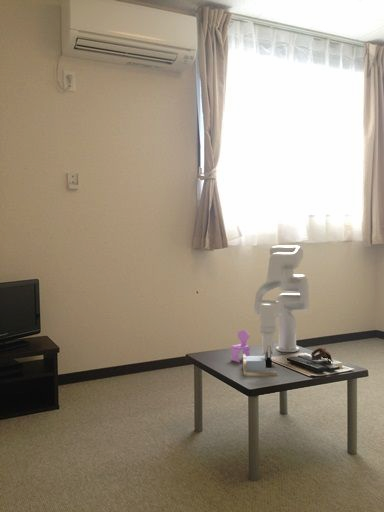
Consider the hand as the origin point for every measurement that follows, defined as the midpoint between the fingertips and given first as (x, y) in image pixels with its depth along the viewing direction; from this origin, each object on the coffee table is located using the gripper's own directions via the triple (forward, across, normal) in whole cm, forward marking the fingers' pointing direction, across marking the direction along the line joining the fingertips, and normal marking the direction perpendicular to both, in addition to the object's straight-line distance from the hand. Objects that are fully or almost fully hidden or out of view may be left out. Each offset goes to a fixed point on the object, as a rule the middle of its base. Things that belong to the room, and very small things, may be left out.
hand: (268, 367), depth 225 cm
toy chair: (+2, -19, -12) cm, 23 cm away
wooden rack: (+2, 0, -4) cm, 4 cm away
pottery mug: (+2, -15, +28) cm, 32 cm away
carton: (+2, 0, -6) cm, 6 cm away
